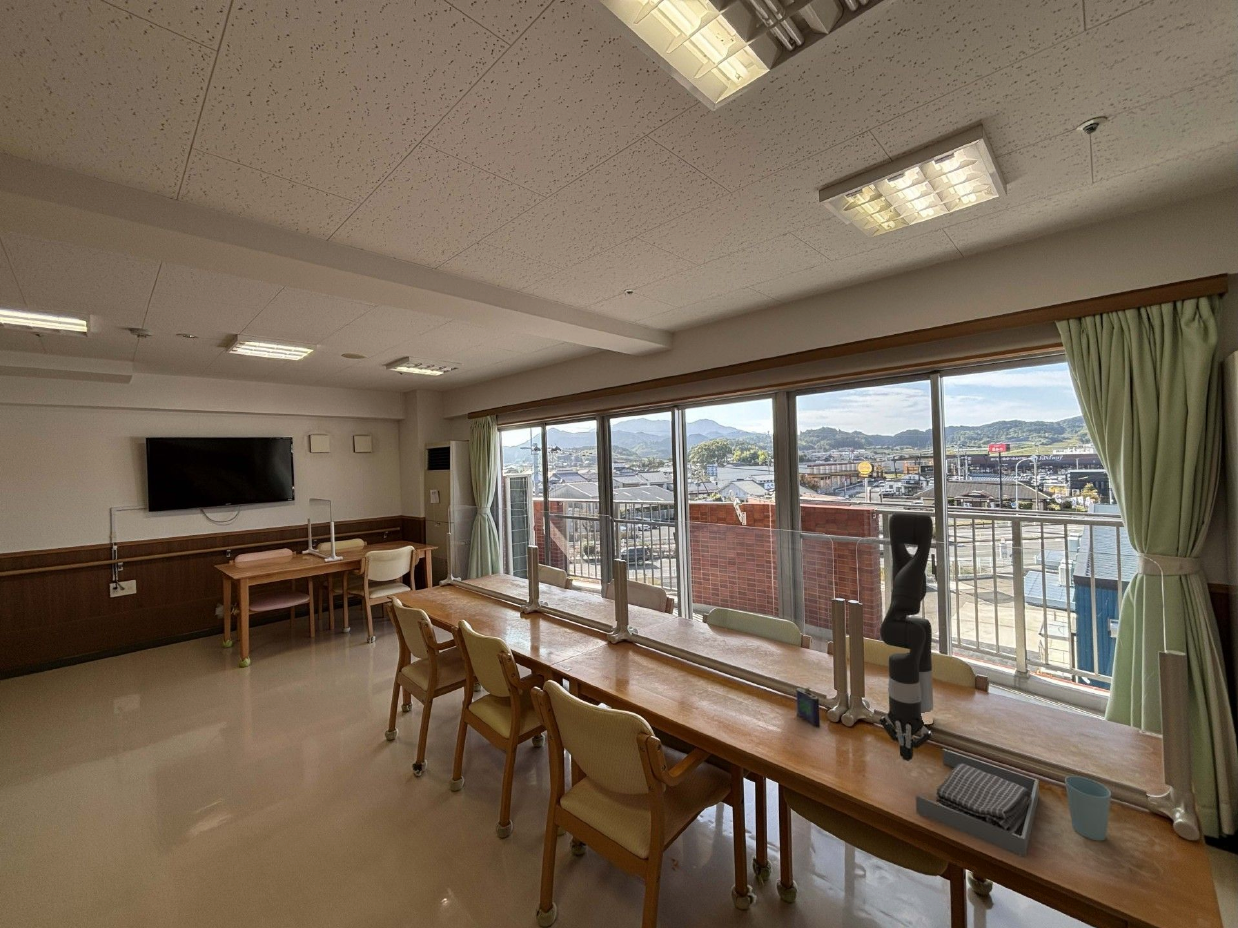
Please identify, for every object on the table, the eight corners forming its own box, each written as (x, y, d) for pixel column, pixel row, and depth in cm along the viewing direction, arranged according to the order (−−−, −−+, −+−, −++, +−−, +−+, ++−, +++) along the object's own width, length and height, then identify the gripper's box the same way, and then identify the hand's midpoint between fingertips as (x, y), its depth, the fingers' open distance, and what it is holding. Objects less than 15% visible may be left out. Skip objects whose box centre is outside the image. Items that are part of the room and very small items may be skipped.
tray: (943, 762, 140) (943, 748, 140) (1038, 795, 126) (1038, 779, 126) (916, 812, 121) (915, 795, 121) (1025, 857, 106) (1024, 839, 106)
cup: (1070, 814, 119) (1069, 771, 119) (1115, 833, 112) (1114, 787, 112) (1062, 829, 114) (1061, 784, 114) (1108, 849, 108) (1107, 802, 108)
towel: (1034, 815, 119) (1033, 783, 119) (1010, 854, 108) (1009, 817, 108) (961, 784, 131) (960, 754, 131) (932, 815, 120) (931, 783, 120)
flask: (795, 714, 169) (794, 683, 169) (801, 712, 170) (800, 681, 170) (815, 727, 161) (815, 694, 161) (822, 725, 162) (821, 692, 162)
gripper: (936, 697, 131) (938, 762, 131) (882, 682, 140) (884, 743, 141) (929, 708, 126) (931, 776, 126) (873, 692, 135) (875, 755, 135)
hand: (906, 758), depth 133 cm, fingers closed
